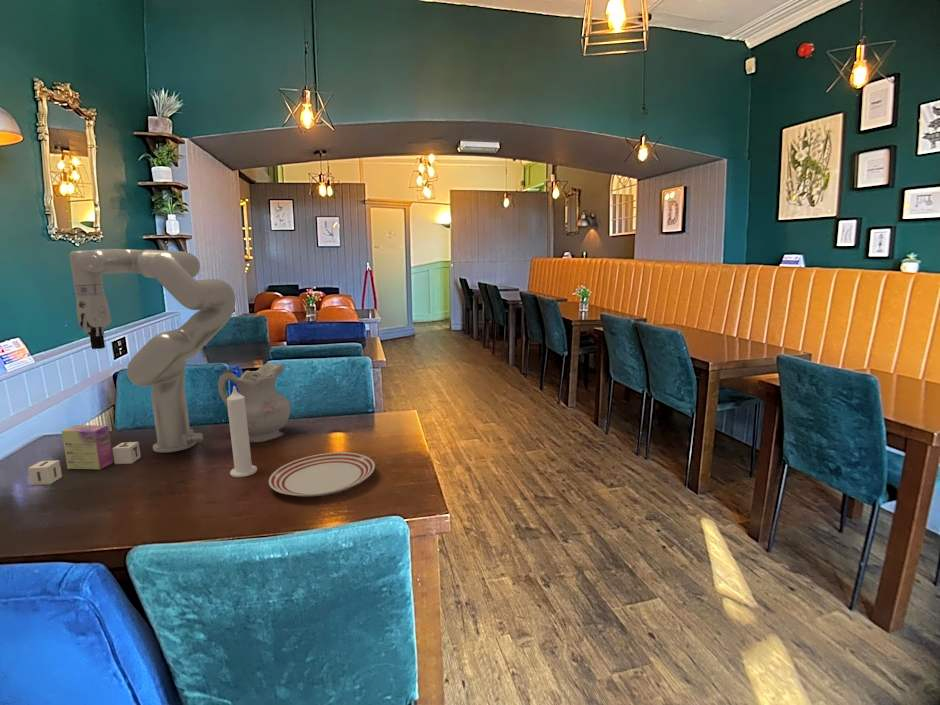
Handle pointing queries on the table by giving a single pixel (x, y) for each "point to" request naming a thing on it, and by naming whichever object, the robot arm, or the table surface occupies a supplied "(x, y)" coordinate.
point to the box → (87, 447)
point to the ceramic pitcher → (260, 401)
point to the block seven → (126, 453)
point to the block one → (45, 472)
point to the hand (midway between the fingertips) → (98, 348)
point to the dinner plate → (322, 474)
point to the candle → (239, 436)
